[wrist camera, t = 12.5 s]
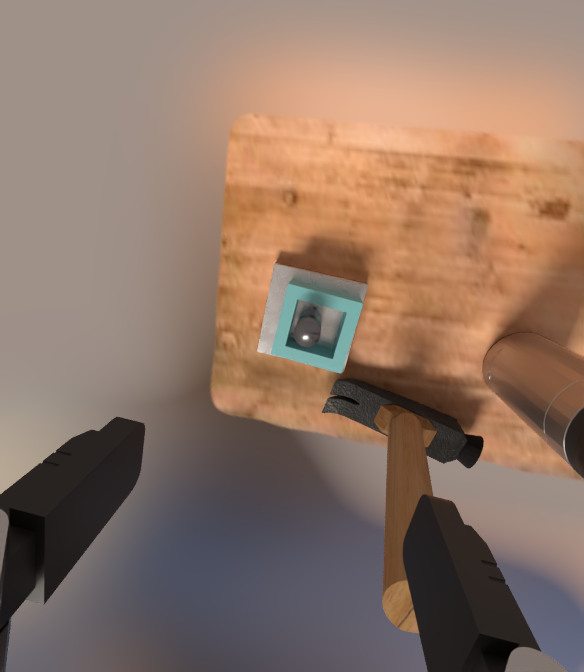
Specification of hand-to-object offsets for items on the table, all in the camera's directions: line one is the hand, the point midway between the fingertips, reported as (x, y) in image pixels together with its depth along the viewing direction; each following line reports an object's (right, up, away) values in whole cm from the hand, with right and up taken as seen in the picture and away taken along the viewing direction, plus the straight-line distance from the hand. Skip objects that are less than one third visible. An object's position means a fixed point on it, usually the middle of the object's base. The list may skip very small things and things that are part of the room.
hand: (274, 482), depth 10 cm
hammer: (+15, -7, +40) cm, 44 cm away
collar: (+4, +6, +36) cm, 37 cm away
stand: (+3, +7, +38) cm, 38 cm away
